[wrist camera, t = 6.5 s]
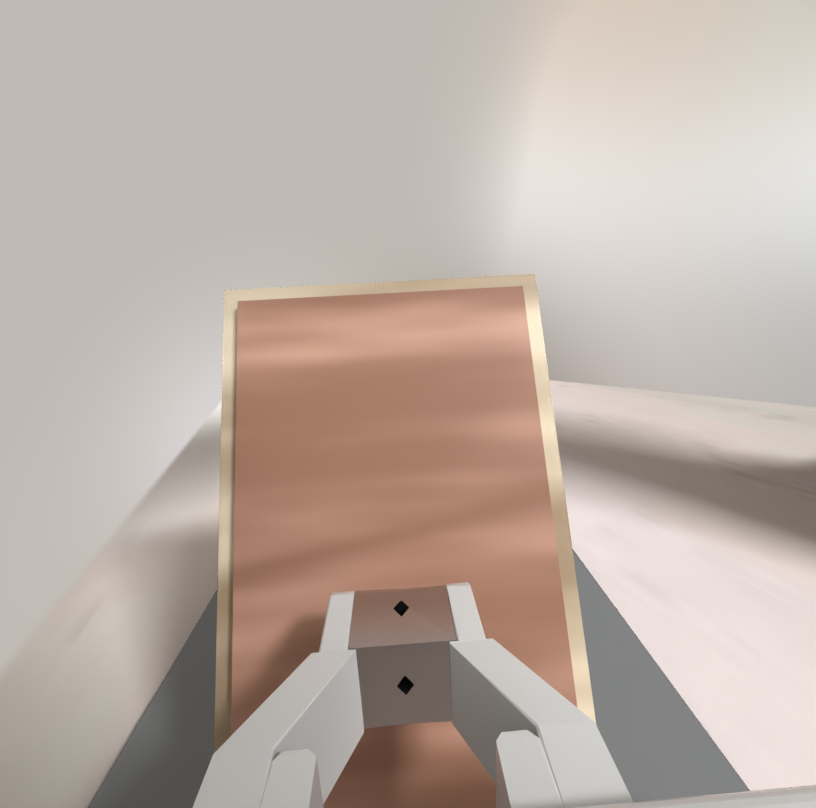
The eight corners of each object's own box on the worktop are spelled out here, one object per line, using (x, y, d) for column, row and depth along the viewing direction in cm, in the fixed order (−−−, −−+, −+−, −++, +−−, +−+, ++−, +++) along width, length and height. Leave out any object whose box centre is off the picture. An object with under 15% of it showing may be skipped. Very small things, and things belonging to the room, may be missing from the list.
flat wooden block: (618, 850, 9) (538, 269, 12) (205, 889, 9) (220, 285, 12) (568, 767, 12) (512, 309, 15) (251, 795, 12) (254, 324, 14)
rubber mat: (892, 1004, 8) (897, 992, 8) (-74, 1108, 8) (-82, 1095, 7) (527, 492, 29) (527, 487, 29) (268, 510, 29) (267, 504, 29)
